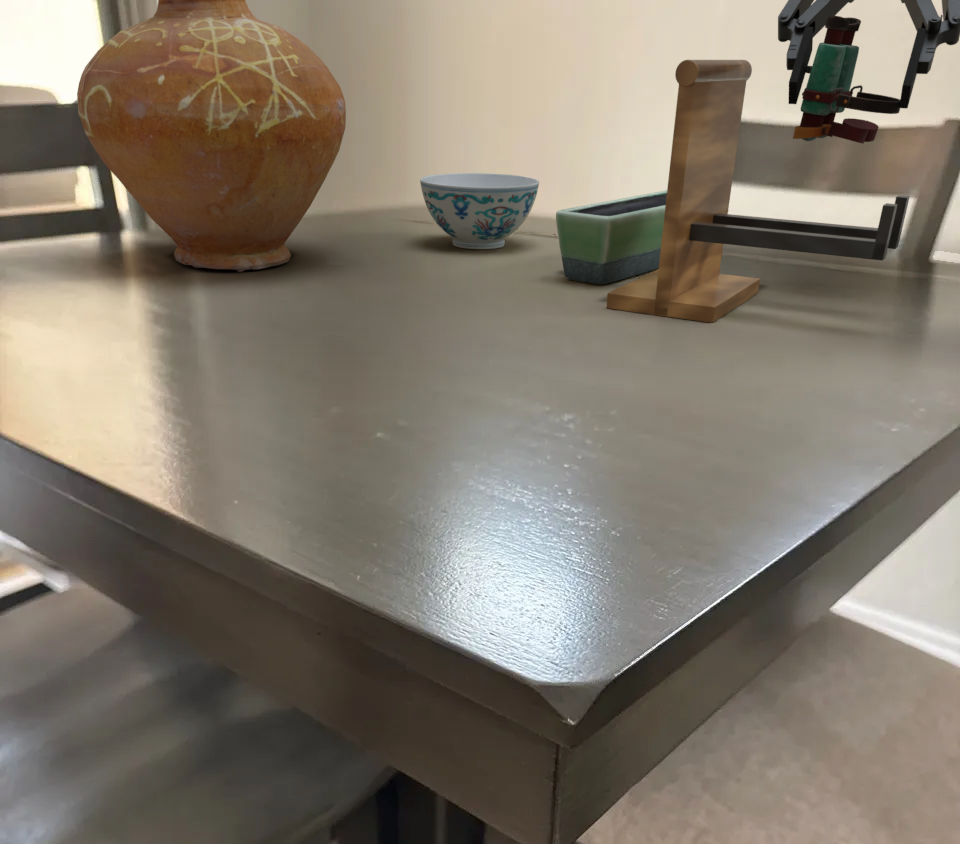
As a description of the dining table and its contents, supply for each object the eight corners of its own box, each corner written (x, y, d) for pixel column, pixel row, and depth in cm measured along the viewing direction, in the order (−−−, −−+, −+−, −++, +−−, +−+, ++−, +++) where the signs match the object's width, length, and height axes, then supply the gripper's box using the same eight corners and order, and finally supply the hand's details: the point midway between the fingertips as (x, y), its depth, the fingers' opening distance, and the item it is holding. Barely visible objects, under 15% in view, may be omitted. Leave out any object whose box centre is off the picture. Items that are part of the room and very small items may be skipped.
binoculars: (917, 26, 87) (807, 12, 90) (877, 156, 93) (776, 138, 96) (934, 27, 93) (832, 15, 97) (896, 149, 99) (801, 132, 103)
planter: (667, 248, 127) (674, 188, 123) (717, 255, 123) (726, 193, 119) (548, 280, 108) (552, 210, 104) (604, 290, 105) (610, 217, 101)
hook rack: (889, 308, 100) (945, 65, 88) (857, 344, 87) (918, 65, 76) (662, 280, 110) (687, 58, 98) (604, 309, 97) (625, 58, 86)
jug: (108, 294, 98) (45, -72, 82) (102, 246, 121) (51, -49, 105) (379, 280, 106) (368, -55, 91) (325, 237, 129) (309, -37, 113)
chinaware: (538, 256, 120) (542, 188, 116) (417, 254, 120) (416, 185, 116) (533, 236, 133) (536, 174, 129) (424, 234, 133) (423, 172, 129)
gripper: (1014, -58, 97) (966, 130, 93) (786, -55, 104) (733, 119, 100) (1032, -134, 90) (982, 66, 86) (787, -124, 97) (729, 60, 93)
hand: (847, 95), depth 93 cm, fingers closed on binoculars, 10 cm apart
